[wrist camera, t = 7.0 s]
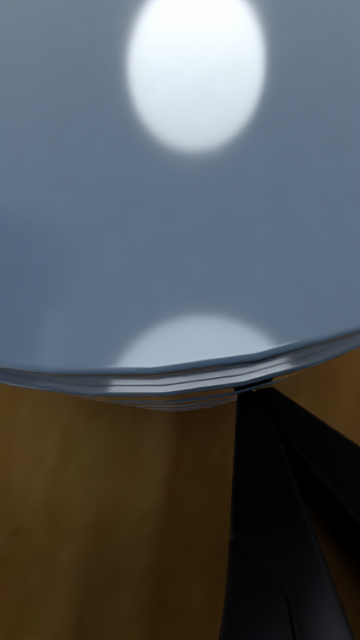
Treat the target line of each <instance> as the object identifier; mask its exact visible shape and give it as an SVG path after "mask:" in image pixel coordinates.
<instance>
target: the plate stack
mask: <svg viewBox="0 0 360 640" xmlns="http://www.w3.org/2000/svg"><path fill="white" fill-rule="evenodd" d="M357 348H360V0H0V383H1V384H4V385H8V386H11V387H17V388H23V389H29V390H35V391H40V392H47V393H54V394H61V395H68V396H71V397H76V398H82V399H88V400H95V401H101V402H106V403H111V404H118V405H123V406H129V407H135V408H142V409H149V410H156V411H192V410H199V409H207V408H212V407H216V406H219V405H223V404H226V403H230V402H233V401H236V400H237V395H238V394H241V393H245V392H249V391H254V392H255V391H256V390H257V389H261V388H265V387H269V386H271V385H273V384H276V383H278V382H280V381H283V380H285V379H287V378H290V377H292V376H294V375H297V374H299V373H302V372H304V371H306V370H309V369H311V368H313V367H316V366H318V365H321V364H323V363H325V362H327V361H330V360H332V359H334V358H337V357H339V356H341V355H344V354H346V353H348V352H350V351H353V350H355V349H357Z"/></svg>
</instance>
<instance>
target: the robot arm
mask: <svg viewBox="0 0 360 640" xmlns="http://www.w3.org/2000/svg"><path fill="white" fill-rule="evenodd" d="M229 536H230V539H229V542H228V560H227V573H226V584H225V596H224V605H223V612H222V619H221V626H220V633H219V640H360V446H359V445H358V444H356V443H355V442H353V441H352V440H350V439H349V438H347V437H346V436H344V435H343V434H341V433H340V432H338V431H337V430H336V429H334V428H333V427H331V426H330V425H328V424H327V423H325V422H324V421H322V420H321V419H319V418H318V417H316V416H315V415H313V414H312V413H310V412H309V411H307V410H306V409H305V408H303V407H302V406H300V405H299V404H297V403H296V402H294V401H293V400H291V399H290V398H288V397H287V396H285V395H284V394H282V393H281V392H279V391H278V390H276V389H275V388H273V387H265V388H261V389H257V390H256V391H255V392H254V391H249V392H245V393H241V394H238V395H237V404H236V422H235V440H234V458H233V475H232V493H231V511H230V529H229Z"/></svg>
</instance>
